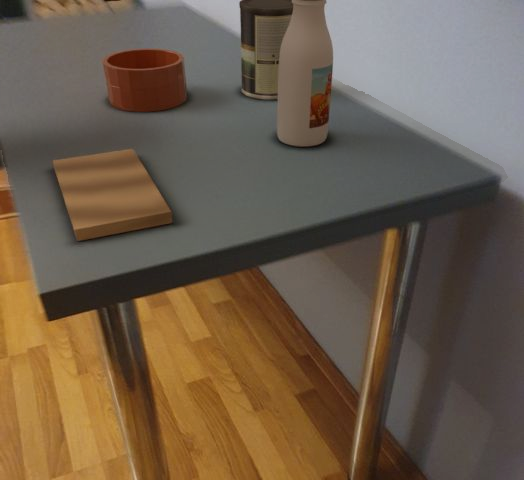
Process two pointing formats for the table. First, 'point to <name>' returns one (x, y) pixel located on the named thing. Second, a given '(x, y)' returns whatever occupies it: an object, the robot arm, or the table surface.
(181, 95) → the pot
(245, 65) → the coffee can
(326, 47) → the milk bottle
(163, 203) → the board
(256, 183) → the table surface
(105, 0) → the fennel bulb
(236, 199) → the table surface
